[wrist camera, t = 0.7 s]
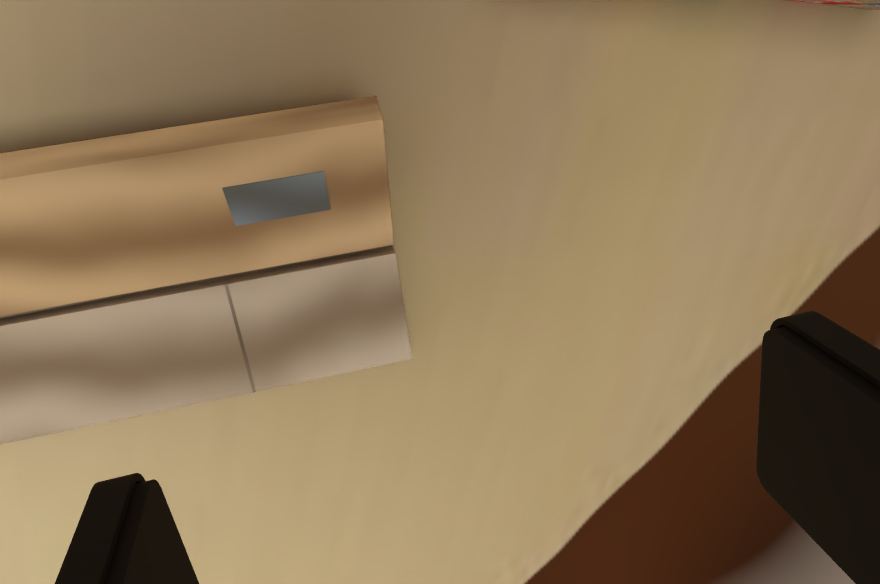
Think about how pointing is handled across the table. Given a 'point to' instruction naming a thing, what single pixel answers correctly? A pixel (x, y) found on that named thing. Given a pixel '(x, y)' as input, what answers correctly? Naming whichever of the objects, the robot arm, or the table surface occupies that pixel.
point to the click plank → (191, 203)
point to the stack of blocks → (848, 3)
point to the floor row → (199, 342)
